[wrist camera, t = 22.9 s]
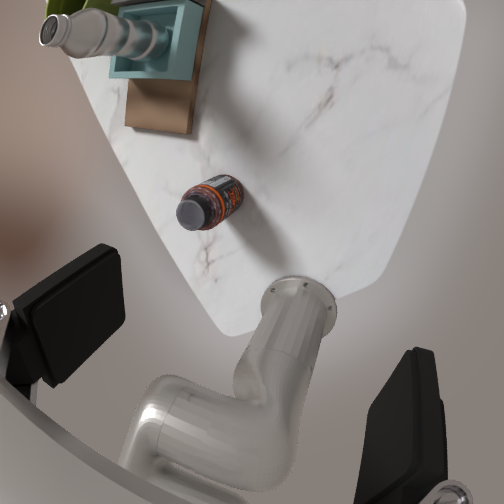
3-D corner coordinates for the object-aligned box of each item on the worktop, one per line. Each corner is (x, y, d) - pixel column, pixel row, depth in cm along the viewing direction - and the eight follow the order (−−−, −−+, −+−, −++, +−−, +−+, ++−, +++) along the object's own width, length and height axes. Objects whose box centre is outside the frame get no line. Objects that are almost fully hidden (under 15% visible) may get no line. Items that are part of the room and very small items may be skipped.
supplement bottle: (247, 211, 48) (215, 240, 38) (211, 212, 50) (173, 239, 40) (242, 171, 46) (207, 191, 36) (205, 174, 48) (164, 194, 38)
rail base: (191, 133, 46) (159, 139, 38) (130, 125, 48) (95, 131, 41) (212, -3, 35) (183, -20, 28) (147, 2, 38) (113, -8, 31)
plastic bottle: (180, 48, 38) (73, 31, 21) (145, 71, 41) (37, 71, 24) (166, 15, 36) (62, -11, 19) (133, 39, 39) (28, 29, 22)
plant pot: (130, -31, 35) (86, -46, 26) (145, 14, 39) (97, 3, 29) (85, 4, 40) (40, -2, 31) (96, 49, 44) (49, 47, 34)
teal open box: (191, 80, 40) (172, 79, 36) (129, 78, 43) (108, 78, 39) (203, 7, 35) (186, -1, 31) (139, 12, 37) (119, 7, 33)
